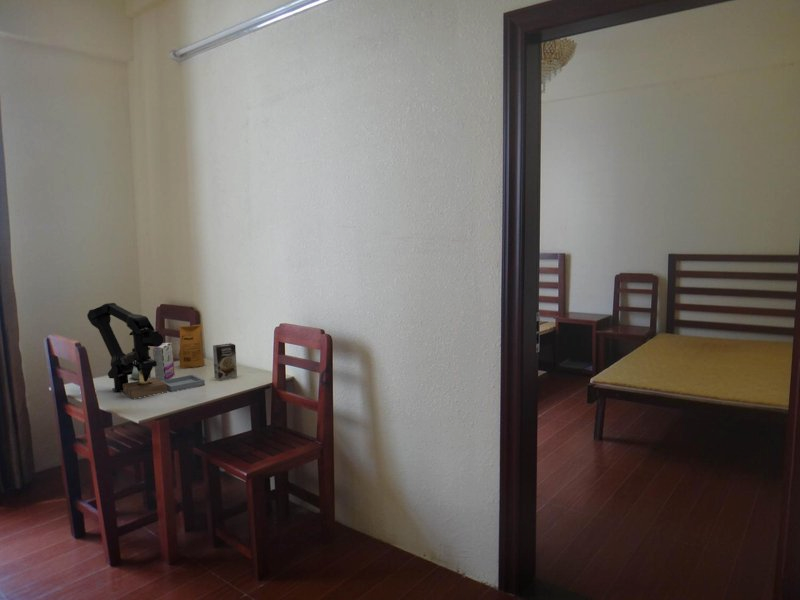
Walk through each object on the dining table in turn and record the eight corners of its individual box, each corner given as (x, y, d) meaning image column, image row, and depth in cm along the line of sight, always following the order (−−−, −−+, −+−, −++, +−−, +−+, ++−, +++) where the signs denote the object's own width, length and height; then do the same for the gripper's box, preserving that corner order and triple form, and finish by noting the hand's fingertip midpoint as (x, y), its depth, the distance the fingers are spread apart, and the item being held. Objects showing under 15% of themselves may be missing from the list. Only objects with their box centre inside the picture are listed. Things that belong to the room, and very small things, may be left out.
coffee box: (218, 381, 259) (216, 347, 257) (214, 378, 264) (212, 345, 262) (237, 377, 264) (235, 344, 262) (233, 375, 269) (231, 342, 267)
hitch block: (123, 392, 243) (122, 383, 242) (156, 386, 252) (155, 377, 252) (133, 399, 233) (132, 390, 232) (167, 392, 242) (166, 383, 241)
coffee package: (181, 364, 294) (178, 324, 291) (205, 363, 296) (203, 322, 293) (178, 369, 284) (174, 327, 281) (203, 367, 287) (200, 325, 284)
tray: (160, 386, 252) (160, 380, 252) (192, 379, 262) (192, 374, 262) (171, 392, 242) (170, 386, 242) (204, 385, 252) (204, 379, 252)
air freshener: (151, 379, 266) (149, 358, 264) (132, 381, 262) (130, 361, 261) (149, 374, 275) (147, 354, 274) (131, 376, 271) (129, 356, 270)
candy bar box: (164, 375, 272) (162, 342, 270) (174, 375, 272) (172, 342, 270) (154, 381, 261) (152, 347, 259) (165, 381, 261) (162, 347, 259)
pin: (138, 392, 243) (137, 370, 241) (148, 390, 245) (146, 368, 244) (141, 394, 240) (139, 372, 238) (151, 392, 242) (149, 370, 241)
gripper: (115, 345, 241) (118, 380, 243) (127, 351, 228) (130, 388, 229) (141, 341, 249) (144, 375, 251) (155, 347, 235) (158, 382, 237)
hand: (144, 380), depth 242 cm, fingers closed on pin, 4 cm apart
